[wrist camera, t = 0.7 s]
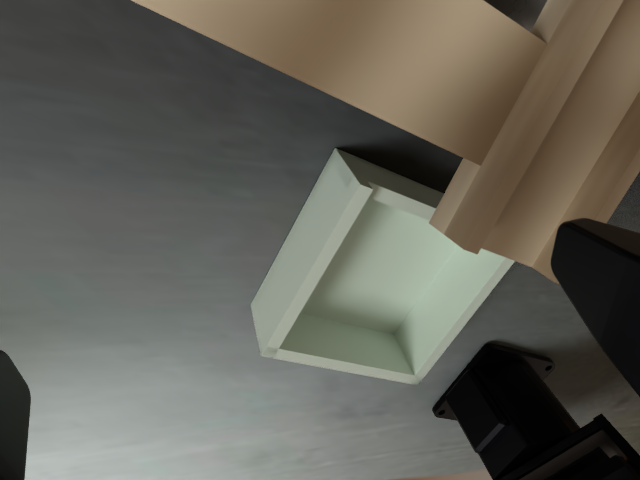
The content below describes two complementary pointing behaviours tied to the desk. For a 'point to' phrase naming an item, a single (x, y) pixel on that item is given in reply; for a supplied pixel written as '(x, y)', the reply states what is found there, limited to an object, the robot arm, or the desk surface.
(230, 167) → the desk surface
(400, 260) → the tray
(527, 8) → the silver support block
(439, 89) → the lever
